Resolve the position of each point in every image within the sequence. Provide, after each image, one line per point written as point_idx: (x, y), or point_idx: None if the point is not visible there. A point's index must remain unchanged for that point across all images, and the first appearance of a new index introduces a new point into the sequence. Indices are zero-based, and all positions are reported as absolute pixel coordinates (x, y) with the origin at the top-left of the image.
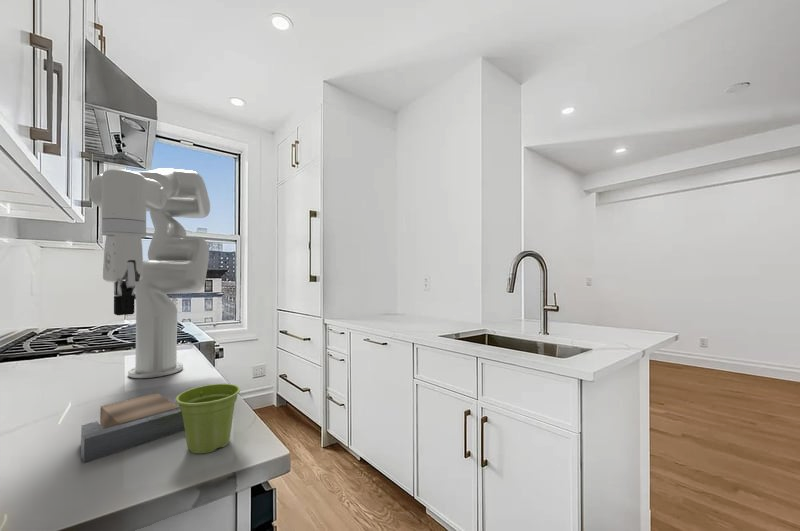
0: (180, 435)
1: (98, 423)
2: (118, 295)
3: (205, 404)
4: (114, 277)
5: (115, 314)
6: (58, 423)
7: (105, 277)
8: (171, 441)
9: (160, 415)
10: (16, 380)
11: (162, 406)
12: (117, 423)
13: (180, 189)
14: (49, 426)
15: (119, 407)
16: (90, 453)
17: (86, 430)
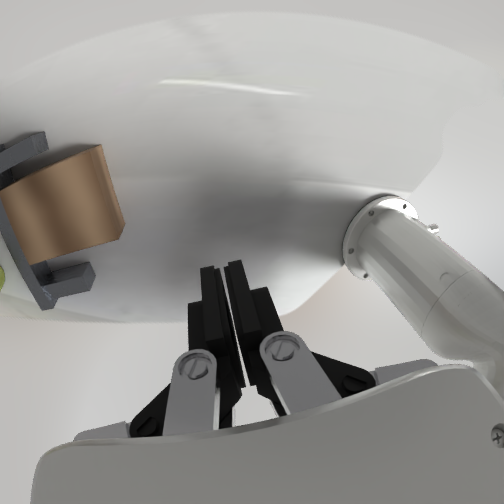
0: None
1: (26, 158)
2: (207, 356)
3: None
4: (36, 469)
5: (229, 263)
6: (163, 79)
7: (362, 426)
8: None
9: (10, 240)
10: (474, 69)
11: (40, 244)
12: (6, 187)
13: None
14: (157, 69)
15: (64, 183)
16: None
17: (9, 148)
